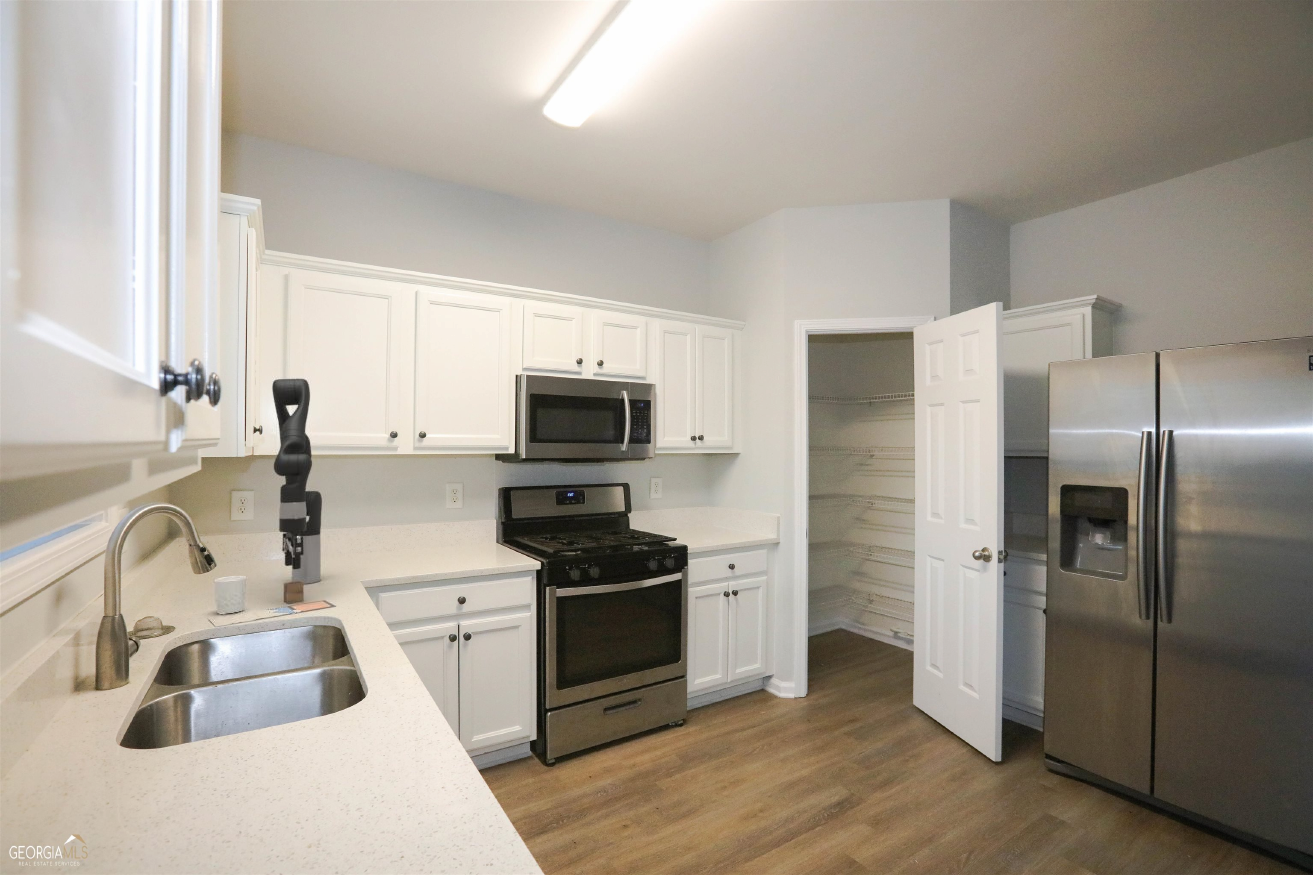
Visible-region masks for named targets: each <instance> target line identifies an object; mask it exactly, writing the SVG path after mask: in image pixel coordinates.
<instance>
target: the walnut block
mask: <svg viewBox="0 0 1313 875" xmlns="http://www.w3.org/2000/svg"><path fill="white" fill-rule="evenodd" d="M304 601H305V600H304V584H303V583H302V582H300V581H295V582H292V581H290V582H284V583H283V603H285V604H286V605H292V604H293V605H294V604H297V603H298V604H299V603H304Z"/></svg>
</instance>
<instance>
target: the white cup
mask: <svg viewBox="0 0 1313 875" xmlns="http://www.w3.org/2000/svg"><path fill="white" fill-rule="evenodd" d="M246 583H247V576H245V575H231V576H225V577H224V576H223V577H220V578H219V577H218V578H216V579H214V595H215V605H216V614H217V613H233V612H238V611H241V610H243V611H245V601H246V585H247V584H246ZM241 612H242V611H241ZM238 613H239V612H238ZM233 614H234V613H233Z"/></svg>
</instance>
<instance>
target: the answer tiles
mask: <svg viewBox="0 0 1313 875" xmlns="http://www.w3.org/2000/svg"><path fill="white" fill-rule="evenodd" d="M336 606H337V605H335V604H333V603H330V602H329V601H327V600H326V599H322V600H317V601H313V602H312V601H310V602H305V603H304V602H303V603H300V604H299V603H298V604H293V605H292V604H291V605H287V606H281V608H280V607H274V608H275V609H274V608H269V609H270V610H278V611H275V612H273V613H295V612H294V611H293V610H301V611H303V612H302V613H306V611H307V612H311V611H319V610H323V609H330V608H334V607H336ZM282 607H283V608H282ZM295 607H296V608H295ZM269 609H267V610H269ZM281 610H282V611H281ZM269 613H270V612H269ZM295 614H298V613H297V612H296V613H295Z"/></svg>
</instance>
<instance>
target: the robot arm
mask: <svg viewBox="0 0 1313 875" xmlns="http://www.w3.org/2000/svg"><path fill="white" fill-rule="evenodd" d="M271 389H272V396H273V403H274V406H275V407H274V408H275V413H276V417H277V418H276V419H277V422H278V423H277V424H278V430H279V432H278V433H279V441H280V442H279V444H280V446H279V450H278V453H277V454H276V457H275V459H274V463H273V470H274V472H275V474H276V475H277V476H279V477H284V478H285V484H282V485H281V486H280V492H279V493H280V495H279V496H280V497H279V498H280V499H279V501H280V502H279V512H278V513H279V514H278V516H279V519H278V524H279V525H278V530H279V532H280V533H282V549H281V551H282V552H283V555H284V566H286V567H290V566H291V582H295V581H300V582H302V583H303V585H305V584H313V583H317V582H321V579H322V578H321V570H322V569H321V566H322V565H321V549H322V548H321V546H322V544H321V531H322V530H321V529H322V528H321V527H322V511H323V510H322V509H323V498H322V494H321V492H320V491H318V490H306V489H307V483H308V480H309V476H310V473H311V471H312V467H313V460H312V455H313V454H312V445H311V440H310V438H309V436H308V435H307V433H306V428H307V427H306V426H307V419H308V415H309V408H310V402H311V391H310V390H311V388H310V385H309V381H308V380H306V379H305V378H280V379H279V378H278V379H275V380H273V382H272V388H271ZM287 406H296V409H295V410H294V411H293V413H292V414H290V413H289V410H288V408H287ZM307 517H308V520H307Z"/></svg>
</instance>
